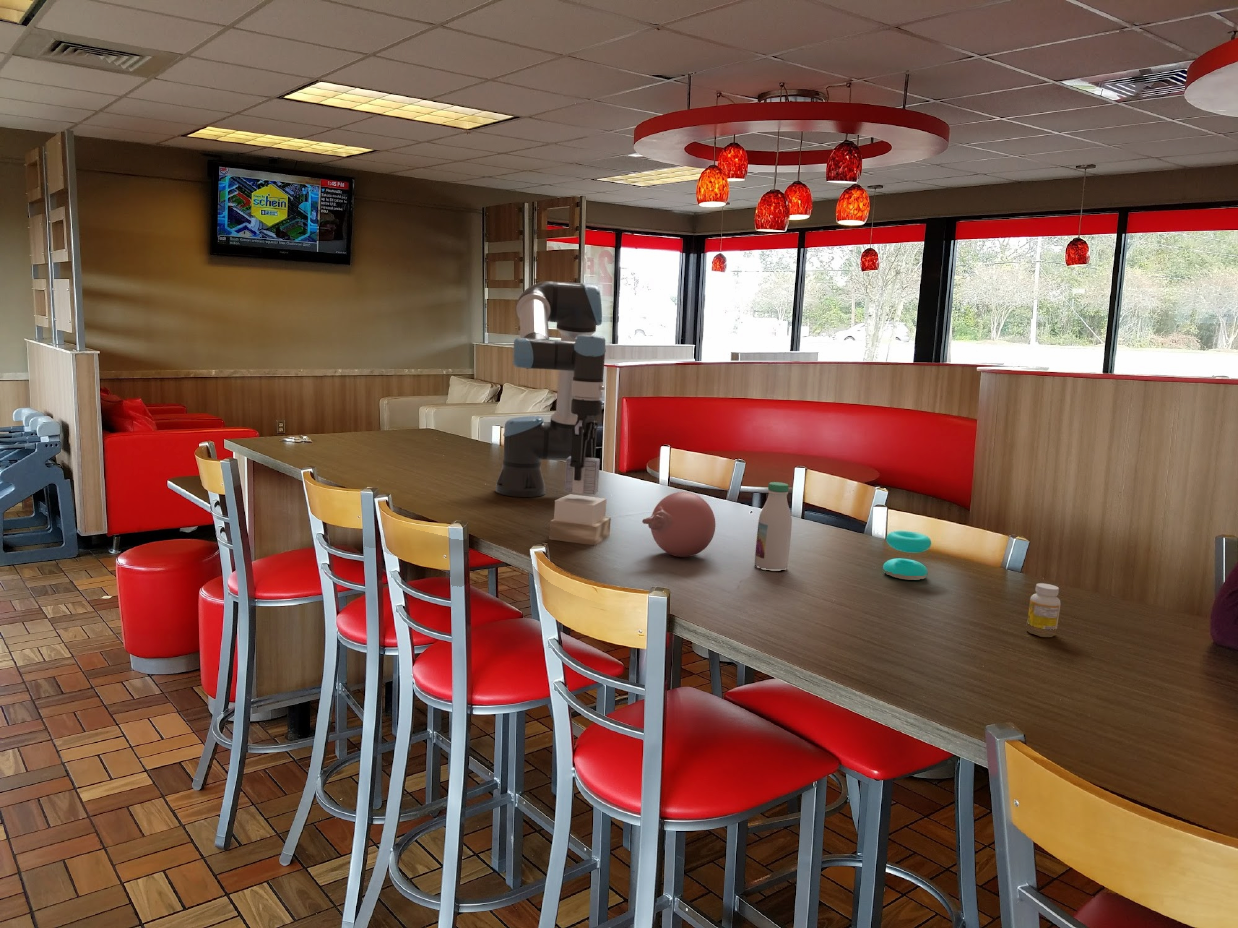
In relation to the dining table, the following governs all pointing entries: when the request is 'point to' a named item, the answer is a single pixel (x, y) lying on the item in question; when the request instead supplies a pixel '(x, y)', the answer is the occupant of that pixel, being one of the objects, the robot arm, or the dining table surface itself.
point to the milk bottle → (774, 529)
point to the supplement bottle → (1044, 607)
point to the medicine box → (589, 479)
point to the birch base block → (580, 531)
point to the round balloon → (682, 524)
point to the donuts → (907, 544)
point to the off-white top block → (580, 509)
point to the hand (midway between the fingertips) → (581, 490)
